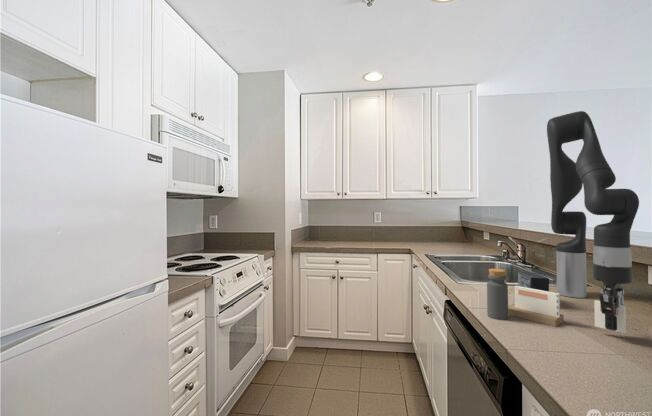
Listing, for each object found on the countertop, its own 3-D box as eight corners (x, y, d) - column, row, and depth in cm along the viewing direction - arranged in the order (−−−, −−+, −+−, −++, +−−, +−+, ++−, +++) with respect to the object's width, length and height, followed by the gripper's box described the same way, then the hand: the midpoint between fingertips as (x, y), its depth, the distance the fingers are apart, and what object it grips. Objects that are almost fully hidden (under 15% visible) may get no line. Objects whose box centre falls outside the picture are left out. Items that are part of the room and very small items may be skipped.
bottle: (508, 321, 92) (507, 272, 92) (486, 317, 95) (486, 270, 95) (508, 315, 97) (507, 269, 97) (488, 312, 100) (487, 267, 100)
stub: (594, 326, 82) (594, 300, 82) (595, 325, 83) (595, 300, 83) (624, 333, 77) (624, 306, 78) (625, 332, 78) (625, 305, 78)
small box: (551, 307, 104) (550, 277, 104) (530, 306, 105) (529, 277, 105) (536, 299, 114) (535, 271, 114) (517, 298, 116) (516, 271, 116)
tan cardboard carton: (504, 313, 99) (503, 286, 99) (513, 309, 103) (513, 283, 103) (555, 326, 87) (554, 295, 87) (563, 321, 91) (563, 291, 91)
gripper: (600, 258, 87) (601, 318, 87) (585, 264, 79) (586, 329, 79) (637, 262, 81) (638, 326, 81) (625, 268, 73) (626, 339, 73)
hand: (612, 327), depth 80 cm, fingers open, 3 cm apart
